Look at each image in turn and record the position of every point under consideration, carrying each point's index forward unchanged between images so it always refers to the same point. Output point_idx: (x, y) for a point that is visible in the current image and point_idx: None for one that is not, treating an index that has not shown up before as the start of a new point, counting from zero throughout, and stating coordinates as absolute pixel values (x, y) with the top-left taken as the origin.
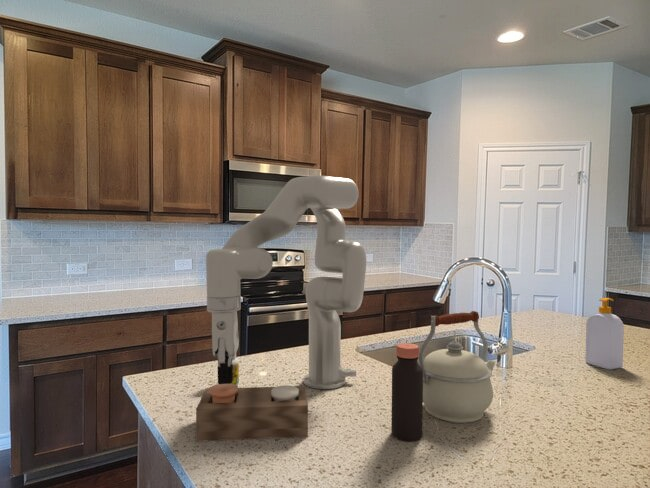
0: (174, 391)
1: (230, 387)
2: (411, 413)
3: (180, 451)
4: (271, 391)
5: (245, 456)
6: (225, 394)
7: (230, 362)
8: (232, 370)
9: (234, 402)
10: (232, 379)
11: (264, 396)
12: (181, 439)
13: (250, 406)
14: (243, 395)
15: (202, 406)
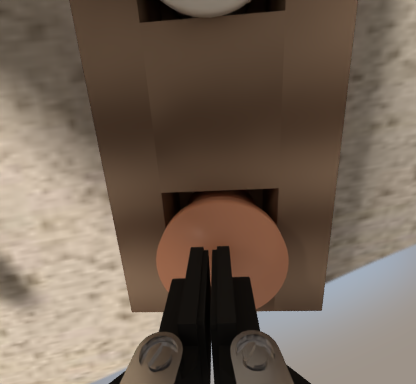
0: (10, 346)
1: (212, 238)
2: None
3: (335, 270)
4: (222, 4)
5: (400, 113)
6: (285, 245)
7: (239, 364)
8: (199, 288)
9: (225, 194)
10: (202, 251)
11: (214, 59)
12: None
13: (335, 117)
14: (199, 167)
15: (301, 296)
